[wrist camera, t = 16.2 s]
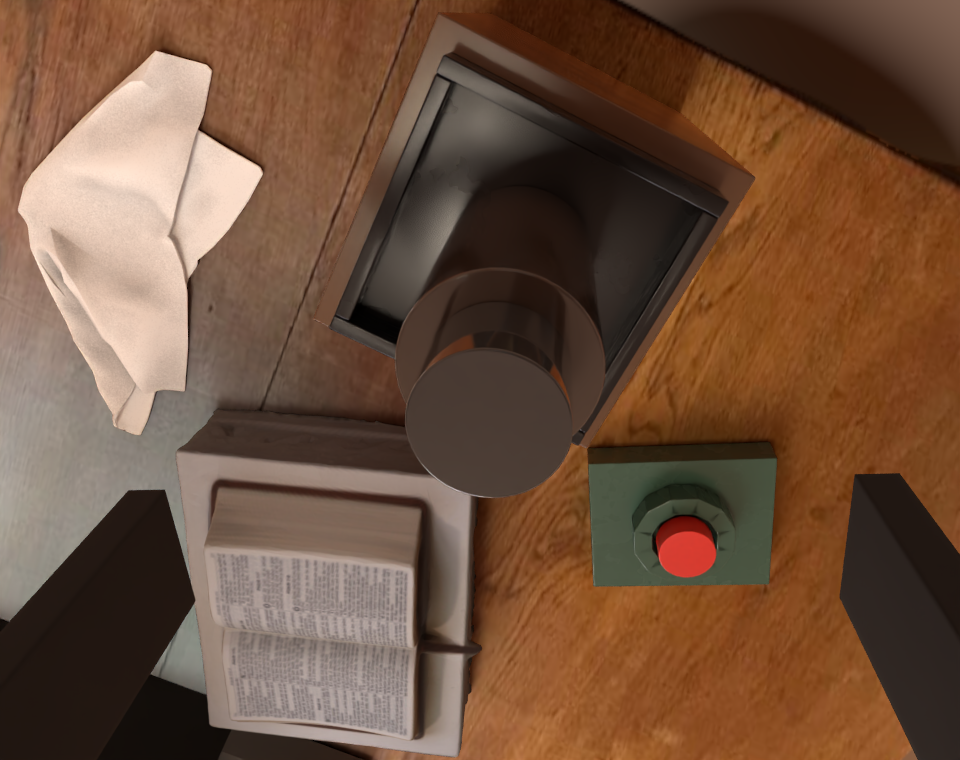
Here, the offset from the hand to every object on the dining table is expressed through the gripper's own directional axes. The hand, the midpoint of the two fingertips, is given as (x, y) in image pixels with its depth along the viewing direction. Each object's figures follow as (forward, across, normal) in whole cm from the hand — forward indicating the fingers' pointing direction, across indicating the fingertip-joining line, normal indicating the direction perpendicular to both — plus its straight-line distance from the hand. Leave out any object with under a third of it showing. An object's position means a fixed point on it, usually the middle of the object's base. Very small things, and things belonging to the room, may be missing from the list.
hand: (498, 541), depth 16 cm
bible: (+36, -16, -27) cm, 48 cm away
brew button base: (+36, +8, -23) cm, 43 cm away
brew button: (+32, +8, -23) cm, 40 cm away
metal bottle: (+15, 0, +1) cm, 15 cm away
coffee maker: (+36, -36, -48) cm, 70 cm away
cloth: (+36, -27, -2) cm, 45 cm away
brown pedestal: (+36, 0, +1) cm, 36 cm away
